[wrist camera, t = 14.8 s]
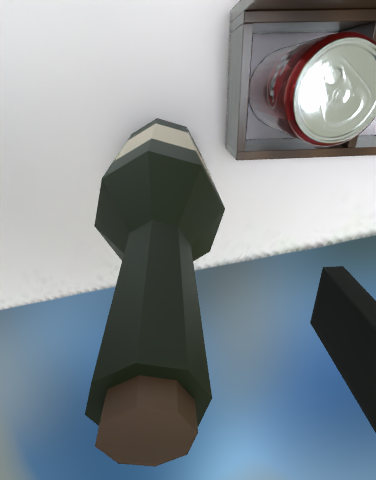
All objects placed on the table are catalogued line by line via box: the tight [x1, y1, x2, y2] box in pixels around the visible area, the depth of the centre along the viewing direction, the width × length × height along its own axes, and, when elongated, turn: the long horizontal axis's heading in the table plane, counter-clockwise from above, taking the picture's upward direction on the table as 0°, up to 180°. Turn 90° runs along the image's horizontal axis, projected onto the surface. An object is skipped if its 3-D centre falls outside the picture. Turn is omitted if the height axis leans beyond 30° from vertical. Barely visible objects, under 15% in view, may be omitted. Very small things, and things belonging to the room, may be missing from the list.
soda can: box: [249, 32, 376, 147], centre depth 26 cm, size 7×7×12 cm
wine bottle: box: [85, 119, 225, 466], centre depth 20 cm, size 8×8×30 cm
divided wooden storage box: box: [226, 0, 376, 160], centre depth 25 cm, size 22×12×14 cm, turn 91°
